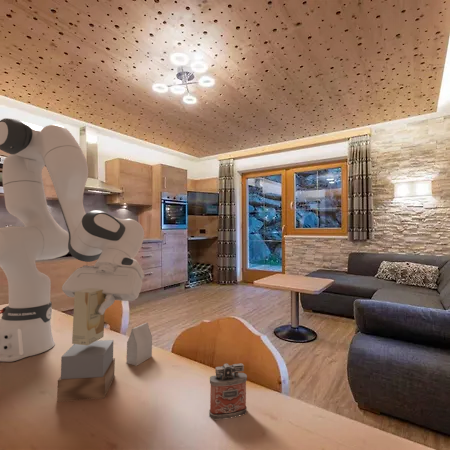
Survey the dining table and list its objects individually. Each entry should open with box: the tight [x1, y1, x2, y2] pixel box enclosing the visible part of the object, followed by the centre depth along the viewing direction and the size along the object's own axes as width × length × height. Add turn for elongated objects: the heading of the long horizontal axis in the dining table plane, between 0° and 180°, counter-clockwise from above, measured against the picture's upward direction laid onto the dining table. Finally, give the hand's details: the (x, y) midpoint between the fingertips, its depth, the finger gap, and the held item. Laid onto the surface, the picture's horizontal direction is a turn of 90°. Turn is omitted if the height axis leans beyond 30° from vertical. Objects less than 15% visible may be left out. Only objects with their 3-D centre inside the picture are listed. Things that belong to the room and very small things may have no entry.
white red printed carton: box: [126, 322, 153, 366], centre depth 84 cm, size 4×7×10 cm, turn 157°
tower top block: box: [60, 339, 114, 379], centre depth 68 cm, size 9×9×5 cm
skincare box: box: [71, 288, 106, 345], centre depth 68 cm, size 6×4×12 cm
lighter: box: [208, 362, 248, 420], centre depth 60 cm, size 8×3×10 cm, turn 105°
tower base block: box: [56, 357, 116, 403], centre depth 68 cm, size 10×10×5 cm
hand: (87, 312), depth 68 cm, fingers closed on skincare box, 4 cm apart
